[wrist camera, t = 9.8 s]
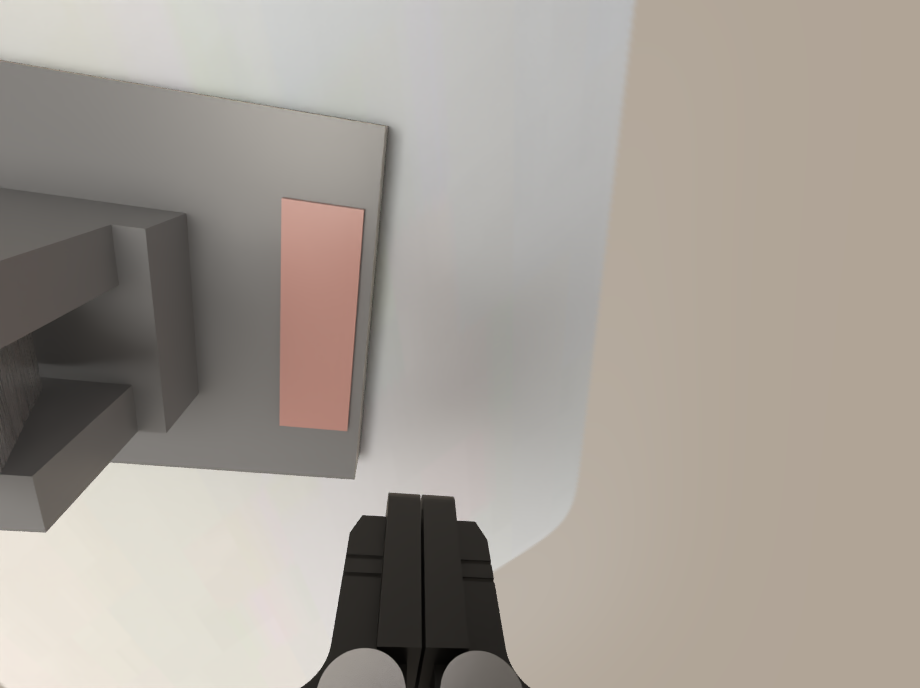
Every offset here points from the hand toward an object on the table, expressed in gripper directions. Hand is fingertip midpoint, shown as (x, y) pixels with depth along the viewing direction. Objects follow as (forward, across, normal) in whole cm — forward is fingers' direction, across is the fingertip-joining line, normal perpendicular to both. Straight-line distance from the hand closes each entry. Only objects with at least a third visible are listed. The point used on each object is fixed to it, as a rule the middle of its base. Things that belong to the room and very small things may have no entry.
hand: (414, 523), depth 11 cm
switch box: (+13, +13, 0) cm, 18 cm away
